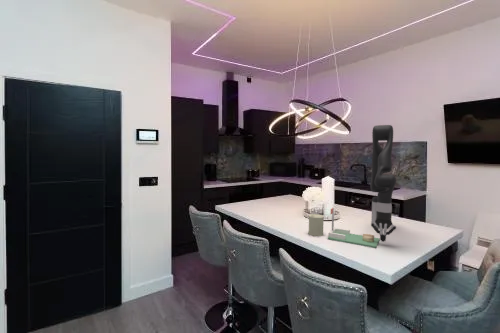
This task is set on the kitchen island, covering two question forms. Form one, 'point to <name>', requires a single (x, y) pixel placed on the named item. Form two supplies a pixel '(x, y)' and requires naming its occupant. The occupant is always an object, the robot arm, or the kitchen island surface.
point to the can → (316, 225)
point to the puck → (368, 238)
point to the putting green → (357, 240)
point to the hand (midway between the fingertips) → (382, 241)
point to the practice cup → (337, 230)
